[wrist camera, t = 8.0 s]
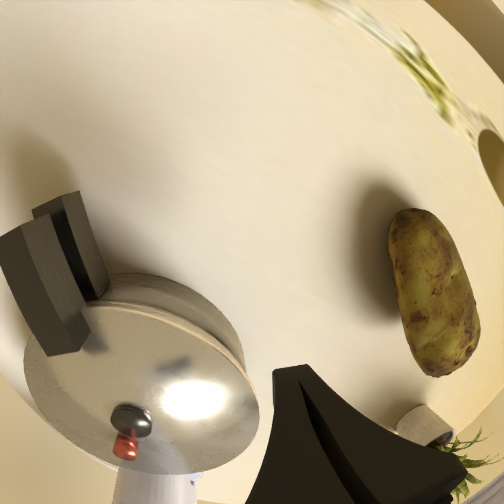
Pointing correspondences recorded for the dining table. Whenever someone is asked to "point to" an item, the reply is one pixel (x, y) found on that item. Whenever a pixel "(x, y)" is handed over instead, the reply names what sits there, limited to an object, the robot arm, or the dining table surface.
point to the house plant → (436, 439)
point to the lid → (124, 370)
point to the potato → (432, 293)
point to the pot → (131, 279)
